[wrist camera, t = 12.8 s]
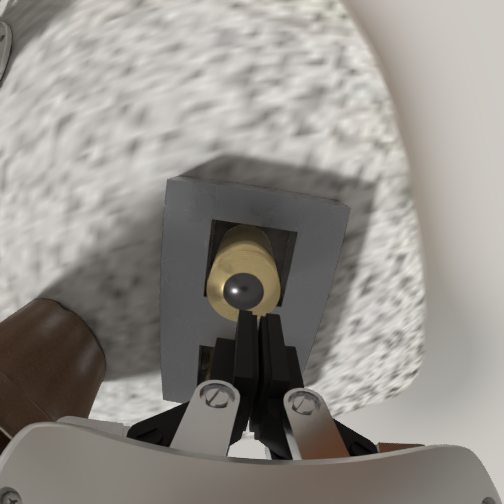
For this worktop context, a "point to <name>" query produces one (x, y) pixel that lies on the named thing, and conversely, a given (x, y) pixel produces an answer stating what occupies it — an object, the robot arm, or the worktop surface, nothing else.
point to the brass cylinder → (243, 274)
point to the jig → (199, 258)
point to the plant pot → (46, 367)
